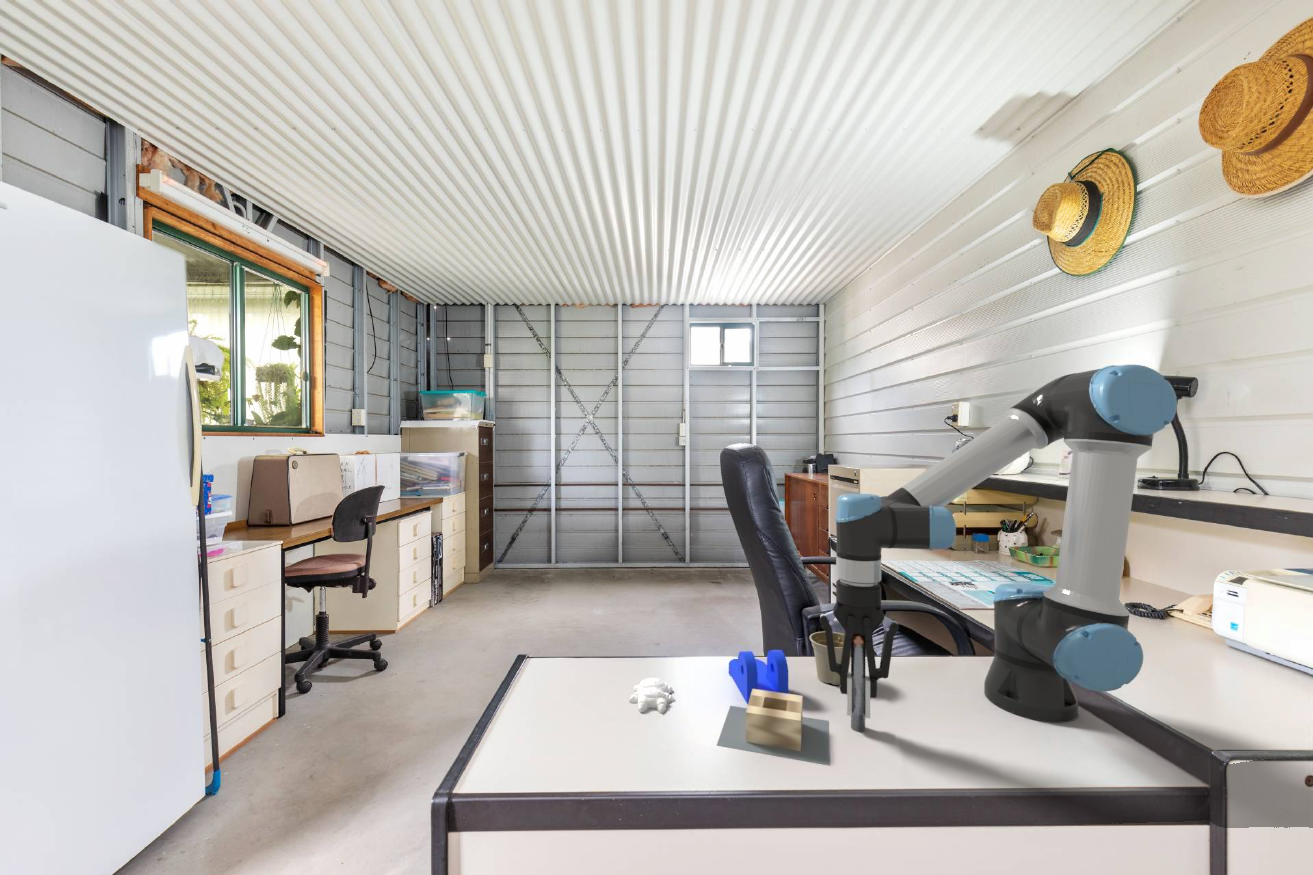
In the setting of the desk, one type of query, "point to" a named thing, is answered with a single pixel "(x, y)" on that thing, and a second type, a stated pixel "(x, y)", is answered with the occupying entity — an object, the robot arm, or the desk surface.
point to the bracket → (759, 673)
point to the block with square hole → (774, 719)
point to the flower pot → (822, 656)
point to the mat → (811, 747)
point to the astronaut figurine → (652, 695)
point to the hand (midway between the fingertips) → (858, 712)
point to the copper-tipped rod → (858, 682)
